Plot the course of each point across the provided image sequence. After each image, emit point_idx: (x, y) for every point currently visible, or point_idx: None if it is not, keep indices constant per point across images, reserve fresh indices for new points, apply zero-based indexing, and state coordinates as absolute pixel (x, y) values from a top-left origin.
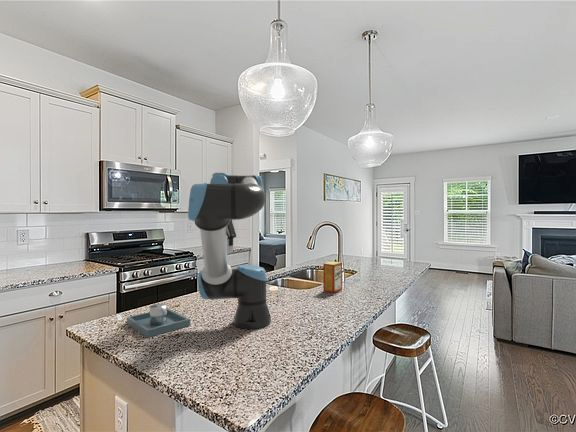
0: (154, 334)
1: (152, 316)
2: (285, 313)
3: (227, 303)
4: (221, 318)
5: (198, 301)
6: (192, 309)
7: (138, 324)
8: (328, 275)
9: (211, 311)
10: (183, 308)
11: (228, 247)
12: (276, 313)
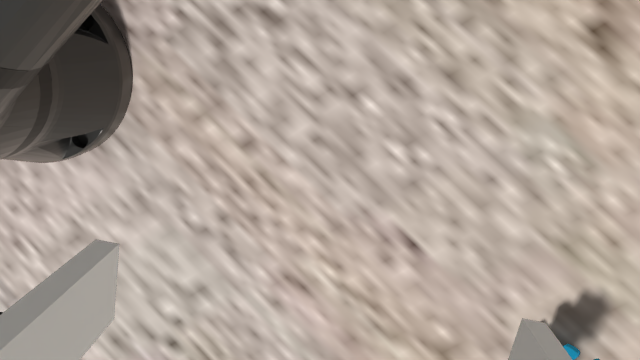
0: None
1: None
2: (23, 252)
3: (371, 224)
4: (210, 25)
5: (547, 165)
6: (463, 40)
7: None
8: None
9: (342, 76)
10: (526, 22)
11: (46, 290)
12: (54, 231)
